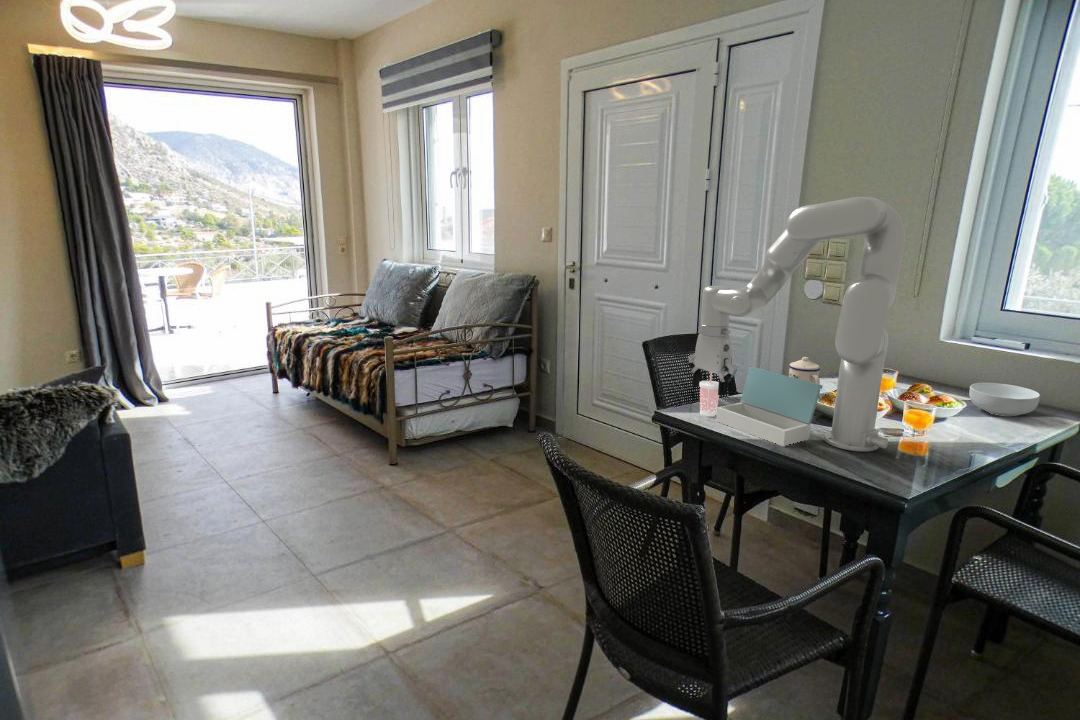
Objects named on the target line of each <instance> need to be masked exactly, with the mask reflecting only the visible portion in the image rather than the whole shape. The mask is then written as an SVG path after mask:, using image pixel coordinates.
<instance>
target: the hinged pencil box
mask: <svg viewBox="0 0 1080 720" xmlns="http://www.w3.org/2000/svg"><path fill="white" fill-rule="evenodd" d="M715 417H716V419H715V422H716V421H717V423H719V422H720V423H719V424H722V425H724V424H725V426H727V425H728V426H727V427H730V428H732V427H733V428H732V429H735V430H738V431H741V432H743V433H747V434H749V435H750V436H751V435H752V436H754V437H756V436H757V438H759V437H760V439H762V440H764V439H765V441H767V440H768V442H769V443H772V442H773V444H775V443H776V444H775V445H778V446H780V447H783V446H784V447H787V446H790V445H789V444H791V445H794V444H798V443H801V442H800V441H802V442H805V441H808V439H809V440H810V435H811V434H810V433H811V424H812V423H811V424H810V425H809V424H806V423H803V422H800V421H797V420H794V419H791V418H788V417H785V416H782V415H779V414H776V413H773V412H769V411H766V410H763V409H760V408H757V407H754V406H751V405H748V404H745V403H742V402H736V403H731V404H727V405H722V406H718V407H717V414H716V416H715ZM804 440H805V441H804ZM797 442H798V443H797ZM793 443H794V444H793ZM786 445H787V446H786Z"/></svg>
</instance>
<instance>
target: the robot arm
mask: <svg viewBox="0 0 1080 720" xmlns="http://www.w3.org/2000/svg"><path fill="white" fill-rule="evenodd" d="M861 235H863V239H864V245H863V249H862V252H861V257H860V263H859V264H860V265H859V268H858V272H857V273H858V274H857V276H856V279H854V281H851V283H850V284H849V286H848V287H847V288H846V291H845V293H844V295H843V299H842V303H841V308H840V314H839V318H838V324H837V328H836V333H835V341H834V345H835V350H836V352H837V354H838V356H839V357H840V358H841V359H840V365H839V370H838V378H837V385H836V391H835V392H836V393H835V401H834V408H833V409H834V411H833V417H832V424H831V430H829V431H827V432H825V433H824V435H823V441H825V442H826V443H827V444H829V445H831V446H833V447H834V448H839V449H843V450H847V451H852V452H873V451H876V450H878V449H880V448H882V449H886V448H887V447H888V442H889V439H888V438H887V437H884V436H880V435H879V430H880V429H877V428H875V427H876V421H877V415H878V408H879V407H878V406H879V401H880V393H881V386H882V382H883V381H882V380H883V373H884V367H885V361H886V358H887V353H888V348H889V339H890V337H889V333H888V330H887V328H886V327H885V326H886V321H887V315H888V311H889V308H891V307H892V305H893V304H894V302H895V300H896V294H897V286H898V282H899V276H900V273H901V271H900V270H901V268H902V261H903V255H904V250H905V243H906V229H905V224H904V222H903V220H902V217H901V215H900V214H899V213H898V212H897V211H896V210H895V209H894V208H893V207H892V206H891V205H889V204H888V203H886V202H885V201H883V200H881V199H878V198H876V197H870V196H854V197H849V198H843V199H838V200H832V201H827V202H820V203H816V204H815V203H814V204H807V205H802V206H800V207H798V208H796V209H794V210H793V211H792V212H791V213H790V214H789V216H788V218H787V221H786V228H785V229H784V231H782V232H781V234H780V235H779V236H778V237H777V239H776V240H774V242H773V243H772V244H771V246H769V248H768V249H767V251H766V253H765V257H764V263H763V265H762V266H761V268H760V269H759V270H758V272H757V274H756V275H755V276H754V277H753V278H752V279H751V280H750V281H749V283H748V284H747V285H746V286H743V287H740V288H734V289H732V288H731V289H730V287H729V286H723V285H707V286H705V287H704V288H703V291H702V298H701V299H702V300H701V312H700V314H701V315H700V326H699V333H698V335H697V340H696V345H695V349H694V350H695V351H694V353H692V354H690V355H688V356H687V359H688V364H689V367H690V369H691V373H692V387H693V388H698V387H699V388H700V386H699V382H701V381H703V376H704V375H703V372H702V371H706V372H709V373H710V372H712V374H716V375H717V376H718V378H719V380H720V381H718V382H719V386H718V395H719V397H720V396H725V395H728V392H729V382H730V381H731V380H732V379H733V378H734V377H735V374H736V373H737V371H738V368H737V366H736V365H735V364H734V363H732V357H733V356H732V342H731V337H729V336H730V334H731V330H730V329H729V325H730V316H731V317H735V318H745V317H749V316H751V315H753V314H755V313H758V312H760V311H761V310H762V309H764V308H765V307H766V306H767V305H768V303H769V302H770V301H771V300H772V299H773V298H774V297H775V296H776V295H777V294H778V293H779V291H780V290H781V289H782V287H784V285H785V284H786V283H787V281H788V280H789V279H790V278H791V277H792V275H793V273H794V272H795V271H796V270H797V269H798V268H799V267H800V265H801V264H802V263H803V262H804V261H805V259H807V257H808V256H810V254H811V253H812V252H813V251H814V250H815V249H816V247H817V246H818V245H820V244H821V242H823V241H824V240H825V241H826V240H831V239H832V240H833V239H839V238H845V237H846V238H847V237H853V236H854V237H855V236H861Z"/></svg>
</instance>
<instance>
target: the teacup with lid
mask: <svg viewBox="0 0 1080 720" xmlns="http://www.w3.org/2000/svg"><path fill="white" fill-rule="evenodd" d="M788 367H789V371H788V376H789V377H793V378H797V379H800V380H804V381H808V382H812V383H815V384H819V385H821V384H820V383H821V381H820V377H819V373H820V370H821V368H820V365H819V364H817V363H814V362H813V361H811V360H810V359H809V357H808V356H807V357H806V356H803V357H802V358H801V359H799V360H797V361H793V362H791V363H789V365H788Z"/></svg>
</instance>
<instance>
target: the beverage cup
mask: <svg viewBox="0 0 1080 720" xmlns="http://www.w3.org/2000/svg"><path fill="white" fill-rule="evenodd" d="M718 386H719V381H715V380H713V373H712V372H709V380H702V381H701V382H699V388H700V389H699V414H700V416H704V417H716V416H715V415H717V407H719V406H718V405H719V400H720V396H719V395H718Z"/></svg>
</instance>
